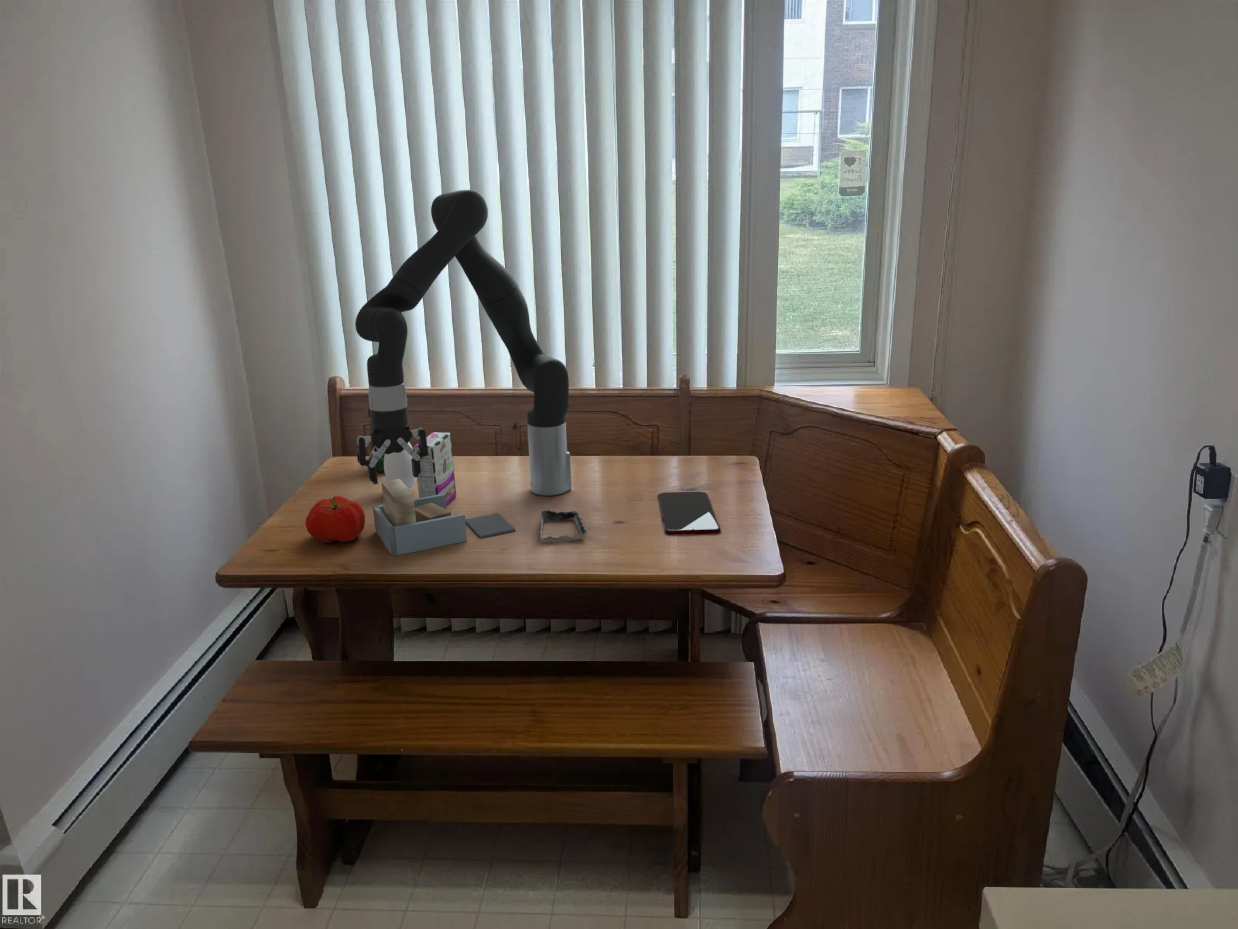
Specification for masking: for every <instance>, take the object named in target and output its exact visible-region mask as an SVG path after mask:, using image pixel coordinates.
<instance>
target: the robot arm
mask: <svg viewBox="0 0 1238 929" xmlns="http://www.w3.org/2000/svg"><path fill="white" fill-rule="evenodd" d="M430 215H431V219H432V222H433V225H434V227H435V229H436V233H434V235H433V236H431V238H430V239H428V240H427V241H426V242H425V243H424V244H423V245H422V246H421V247H419V248H417V249H416V251H414V253H412V254H411V255H410V256H409V257H408V258H407V259H406V260H405V261H404V262H403V263H402V264H401V265H400V266H399V268H398V270H397V271H396V273H395V274H394V275H393V276H392V278H391V279H390V281H389V282H388V284H387V285H386V286H384V287H383V288H382V289H381V290H379V291H378V292H376V294H374V295H373V296H372V297H371V298H370V299H369V300H367V301H366V303H364V304H363V305H362V307H361V308H360V309H359V311H358V313H357V315H356V317H355V322H354V323H355V324H354V326H355V331H356V333H357V335H358V336H359V337H360V338H362V339H363V340H366V342H367V341H368V342H374V343H378V347H377V349H378V350H377V353H375V354H373V355H370V356H369V357H368V358H367V360H366V373H367V381H368V403H369V407H370V416H371V426H372V433H371V432H370V435H364V436H362V434H359V435H356V457H357V458H356V460H357V463H359V465H360V466H361V467H367V473H368V479H369V481H370V482H371V483H372V484H373V485H378V484H379V482H378V481H379V480H378V471H377V470H376V467H375V465H376V463H377V461H378V460H379V459H380V458H381V457H382V455H383V453H385V454H391V453H394V452H395V453H400V452H401V451H403V450H404V449H405V450H406V451H407V452H408V453H409V454H410V455H411V456H412V459H411V463H412V474H413V476H414V477H415V478H416V477H418V474H420V473H421V468H420V459H421V458H422V457H424V456H425V457H426V456H428V448H427V441H426V437H427V436H426V435H427V433H426V430H425V429H424V428H422V427H421V426H417V428H415V429H411V428H410V420H409V410H408V396H407V389H406V387H405V379H404V378H405V376H404V368H403V361H404V356H405V351H406V345H407V339H408V324H407V320H406V318H405V316H404V314H403V313H404V312H408V311H411V310H413V309H415V308H416V307H417V306H418V305H419V303H420V302H421V301H422V300H423V298H424V296H425V295H426V293H427V292H428V291H429V289H430V288H431V286H432V285H433V283H434V282H435V280H436V279H437V278H438V277H439V275H440V274H441V273H442V272H443V270H444V269H446V267H447V265H449V263H450V262H452V260H453V259H454V258H455V259H456V260H457V262H458V263H459V265H460V267H461V269H462V270H463V273H464V274H465V277H467V279H468V281H469V283H470V284H471V286H472V288H473V290H474V292H475V294H476V296H477V298H478V300H479V302H480V304H481V305H482V307H483V310H484V311H485V313H486V315H487V316H488V318H489V320H490V321H491V323H492V325H493V327H494V329H495V330H496V332H497V334H498V336H499V337H500V340H501V341H502V342H503V344H504V345H505V347H506V350H507V351H508V354H509V356H510V358H511V361H512V363H513V366H514V368H515V371H516V373H517V376H518V378H519V380H520V382H521V383H522V385H523V386H524V388H526V389H527V390H528V391H530V392H531V393H533V408H531V409H529V410H528V411H527V414H526V417H527V418H526V419H527V420H526V422H527V435H528V436H527V438H528V439H527V440H528V456H529V457H528V458H529V477H530V481H529V482H530V492H531V493H533V494H535V495H538V496H557V495H558V496H559V495H562V494H564V493H567V491H571V490H572V487H573V486H572V467H571V466H572V464H571V453H570V452H569V451H568V446H567V424H566V422H567V421H566V420H567V419H566V418H567V414H568V411H569V404H570V402H569V401H570V398H569V397H570V396H569V395H570V394H569V393H570V383H569V382H570V379H569V373H568V369H567V367H566V365H565V364H564V363H563V362H562V361H561V360H560V359H557V358H555V357H552V356H547V355H546V353H545V352H544V351H543V350H542V348H541V347H540V344H539V343H538V340H536V338H535V336H534V334H533V330H532V327H531V323H530V322H531V321H530V312H529V308H528V304H527V301H526V298H525V296H524V295H523V294H524V293H522V290H521V289H520V287H519V285H518V283H517V281H516V279H515V277H514V276H513V274H512V273H511V272H510V271H509V270H508V269H507V268H505V267H504V265H502V264H501V263H500V262H499V261H498V260H497V259H496V258H494V257H493V256H492V255H491V254H490V253H489V252H488V251H487V250H486V249H485V247H484V246H483V245H482V243H481V241H480V240H479V238H478V236H477V235H478V233H479V232H481V230H482V229H483V228H484V227H485V225H486V223H487V220H488V217H489V216H488V215H489V208H488V205H487V202H486V200H485V198H484V196H482V194H480V193H479V192H478V191H475V190H472V189H459V190H455V191H450V192H446V193H442V194H440V195H438V196H435V198H434V199H433V201H432V203H431V207H430ZM371 426H370V427H371ZM413 436H414V438H415V439H416V440H417V443H419V451H417V452H415V451H414V448H413V447H412V448H413V449H412V448H411V447H410V446H409V445H408V442H409V443H410V441H411V439H412V437H413ZM370 442H371V443H372V442H373V443H374V445H375V447H374V448H373V450H372V449H371V451H370V455H369V456H368V458H366V448H367V447H368V446H369V444H370Z"/></svg>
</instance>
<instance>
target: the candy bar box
mask: <svg viewBox="0 0 1238 929" xmlns="http://www.w3.org/2000/svg"><path fill="white" fill-rule="evenodd" d="M426 441H427V448H428V456H426V457H425V456H424V457H422V458H421V459H420V468H421V473H420V474H418V477H417V480H416V481H417V488H418V496H419V497H418V498H423V497H428V496H434V495H439V494H445V496H446V507H447V506H448V505H449V504H450V503H451V502H452V501H453V500H454V499H455V498H456V497H457V489H456V488H457V487H456V480H455V468H454V458H453V450H452V437H451V432H442V431H439V432H438V431H435V432H434V431H433V432H431V433H429V434H428V435H427V436H426ZM413 450H414V451H415V452H417V451H419V443H418V442H417V443H416V444H414V445H413Z"/></svg>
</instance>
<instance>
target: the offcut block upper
mask: <svg viewBox="0 0 1238 929" xmlns="http://www.w3.org/2000/svg"><path fill="white" fill-rule="evenodd" d="M451 515H452V512H451V511H450V510H448V509H447V510H446V509H444V508H442V507H440V506H438V505H436V504H434V503H428V504H425V505H421V506H418V507H415V516H416V522H421V521H427V520H432V519H437V518H442V517H447V516H451Z"/></svg>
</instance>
